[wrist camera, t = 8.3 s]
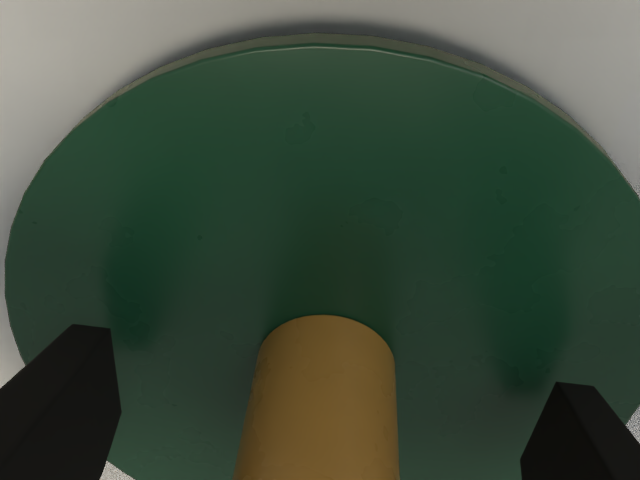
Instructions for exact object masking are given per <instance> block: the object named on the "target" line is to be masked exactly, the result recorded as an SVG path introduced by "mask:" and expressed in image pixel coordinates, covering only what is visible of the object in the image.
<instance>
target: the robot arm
mask: <svg viewBox="0 0 640 480" xmlns="http://www.w3.org/2000/svg"><path fill="white" fill-rule="evenodd" d="M121 413H122V410H121V403H120V396H119V388H118V381H117V374H116V366H115V359H114V351H113V344H112V337H111V329H110V328H104V327H95V326H87V325H79V324H72V325H71V326H69V327H68V328H67V329H66V330H64V331H63V332H62V333H61V334H60V335H59V336H58V337H57V338H56V339H54V340H53V341H52V342H51V343H50V344H49V345H48V346H47V347H46V348H45V349H44V350H42V351H41V352H40V353H39V354H38V355H37V356H36V357H35V358H34V359H33V360H32V361H30V362H29V363H28V364H27V365H26V366H25V367H24V368H23V369H22V370H21V371H19V372H18V373H17V374H16V375H15V376H14V377H13V378H12V379H10V380H9V381H8V382H7V383H6V384H5V385H4V386H3V387H2V388H0V480H99V479H100V477H101V475H102V472H103V470H104V467H105V464H106V461H107V457H108V454H109V451H110V448H111V445H112V442H113V439H114V436H115V432H116V429H117V426H118V423H119V419H120V416H121ZM520 467H521V476H522V480H640V444H639V442H638V441H637V440H636V439H635V437H634V436H633V435H632V433H631V432H630V431H629V430H628V428H627V427H626V426H625V425H624V423H623V422H622V421H621V419H620V418H619V417H618V416H617V414H616V413H615V412H614V410H613V409H612V408H611V407H610V405H609V404H608V403H607V402H606V400H605V399H604V398H603V397H602V395H601V394H600V393H599V392H598V390H597V389H596V388H595V387H594V386H590V385H582V384H573V383H565V382H555V385H554V387H553V389H552V391H551V393H550V395H549V398H548V400H547V402H546V404H545V406H544V408H543V411H542V413H541V415H540V417H539V419H538V421H537V423H536V426H535V428H534V430H533V432H532V434H531V436H530V439H529V441H528V443H527V445H526V447H525V449H524V452H523V454H522V456H521V458H520Z"/></svg>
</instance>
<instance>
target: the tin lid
mask: <svg viewBox="0 0 640 480" xmlns="http://www.w3.org/2000/svg"><path fill="white" fill-rule="evenodd" d="M5 299H6V304H7V310H8V316H9V321H10V327H11V329H12V332H13V335H14V338H15V341H16V344H17V347H18V350H19V353H20V355H21V357H22V359H23V361H24V363H25V365H27V364H28V363H29V362H30V361H32V360H33V359H34V358H35V357H36V356H37V355H38V354H39V353H40V352H41V351H42V350H44V349H45V348H46V347H47V346H48V345H49V344H50V343H51V342H52V341H53V340H54V339H56V338H57V337H58V336H59V335H60V334H61V333H62V332H63V331H64V330H66V329H67V328H68V327H69V326H71V325H72V324H79V325H87V326H95V327H104V328H110V329H111V337H112V344H113V351H114V359H115V366H116V374H117V381H118V388H119V396H120V403H121V410H122V413H121V416H120V419H119V423H118V426H117V429H116V432H115V436H114V439H113V442H112V445H111V448H110V451H109V454H108V457H107V461H109V462H110V463H111V464H113V465H114V466H115V467H117V468H118V469H120V470H121V471H122V472H124V473H126V474H127V475H129V476H130V477H132V478H134V479H135V480H522V476H521V467H520V458H521V456H522V454H523V452H524V449H525V447H526V445H527V443H528V441H529V439H530V436H531V434H532V432H533V430H534V428H535V426H536V423H537V421H538V419H539V417H540V415H541V413H542V411H543V408H544V406H545V404H546V402H547V400H548V398H549V395H550V393H551V391H552V389H553V387H554V385H555V382H565V383H573V384H582V385H590V386H594V387H595V388H596V389H597V390H598V392H599V393H600V394H601V395H602V397H603V398H604V399H605V400H606V402H607V403H608V404H609V405H610V407H611V408H612V409H613V410H614V412H615V413H616V414H617V416H618V417H619V418H620V419H621V421H622V422H623V423H624V425H626V424H627V422H628V421H629V420H630V418H631V417H632V415H633V414H634V412H635V411H636V410H637V408H638V407H639V405H640V199H639V197H638V195H637V194H636V193H635V191H634V190H633V188H632V187H631V185H630V184H629V183H628V181H627V180H626V178H625V177H624V176H623V174H622V173H621V172H620V170H619V169H618V168H617V166H616V165H615V164H614V162H613V161H612V160H611V158H610V157H609V156H608V154H607V153H606V152H605V150H604V149H603V148H602V147H601V146H600V145H599V144H598V143H597V142H596V141H595V140H594V139H593V138H592V137H591V136H590V135H589V134H588V133H587V132H586V131H584V130H583V129H582V128H581V127H580V126H579V125H578V124H577V123H576V122H575V121H574V120H573V119H572V118H571V117H570V116H569V115H567V114H566V113H564V112H563V111H562V110H560V109H559V108H557V107H556V106H554V105H553V104H551V103H550V102H549V101H547V100H546V99H544V98H543V97H541V96H540V95H539V94H537V93H536V92H534V91H533V90H531V89H530V88H528V87H527V86H525V85H523V84H521V83H519V82H517V81H515V80H513V79H510V78H508V77H506V76H504V75H502V74H500V73H498V72H496V71H494V70H492V69H490V68H488V67H486V66H484V65H482V64H480V63H477V62H474V61H471V60H468V59H465V58H462V57H459V56H456V55H453V54H450V53H447V52H444V51H441V50H438V49H435V48H432V47H429V46H424V45H419V44H413V43H408V42H403V41H397V40H392V39H387V38H381V37H376V36H366V35H346V34H327V33H309V34H297V35H284V36H272V37H260V38H256V39H251V40H247V41H242V42H238V43H233V44H229V45H224V46H219V47H215V48H210V49H207V50H204V51H201V52H199V53H196V54H193V55H191V56H188V57H185V58H183V59H180V60H177V61H175V62H172V63H169V64H167V65H164V66H161V67H159V68H157V69H156V70H154V71H152V72H150V73H148V74H147V75H145V76H143V77H141V78H140V79H138V80H136V81H134V82H132V83H131V84H129V85H127V86H125V87H123V88H122V89H120V90H118V91H117V92H116V93H114V94H113V95H112V96H111V97H109V98H108V99H107V100H105V101H104V102H103V103H102V104H100V105H99V106H98V107H97V108H95V109H94V110H93V111H91V112H90V113H89V114H88V115H86V116H85V117H84V118H83V119H82V120H81V121H80V122H79V123H78V124H77V125H76V126H75V127H74V128H73V129H72V131H71V132H70V133H69V134H68V135H67V136H66V137H65V138H64V139H63V140H62V142H61V143H60V144H59V145H58V146H57V147H56V148H55V149H54V150H53V152H52V153H51V154H50V155H49V156H48V157H47V158H46V159H45V160H44V162H43V164H42V165H41V167H40V169H39V170H38V172H37V173H36V175H35V177H34V178H33V180H32V181H31V183H30V185H29V186H28V188H27V189H26V191H25V193H24V195H23V198H22V200H21V203H20V205H19V208H18V210H17V213H16V216H15V218H14V221H13V223H12V226H11V230H10V236H9V241H8V247H7V252H6V258H5Z"/></svg>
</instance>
